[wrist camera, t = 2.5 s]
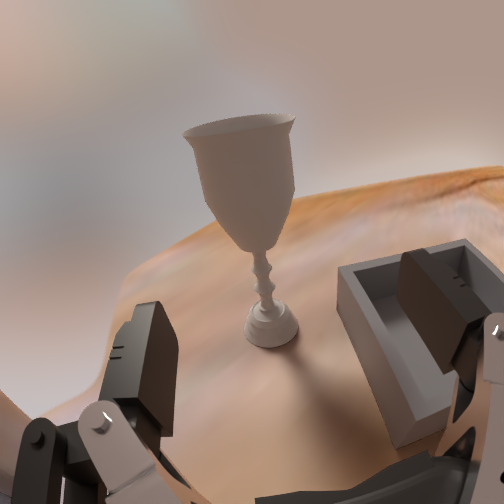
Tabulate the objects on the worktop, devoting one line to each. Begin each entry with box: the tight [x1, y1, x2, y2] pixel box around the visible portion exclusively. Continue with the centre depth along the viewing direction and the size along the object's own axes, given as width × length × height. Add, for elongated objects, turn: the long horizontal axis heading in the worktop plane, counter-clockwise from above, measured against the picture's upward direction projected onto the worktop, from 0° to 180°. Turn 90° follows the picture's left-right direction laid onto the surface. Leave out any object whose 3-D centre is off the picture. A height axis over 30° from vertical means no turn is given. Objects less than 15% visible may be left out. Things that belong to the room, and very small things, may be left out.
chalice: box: [182, 114, 298, 348], centre depth 23 cm, size 7×7×18 cm
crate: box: [337, 239, 504, 449], centre depth 20 cm, size 15×15×5 cm
